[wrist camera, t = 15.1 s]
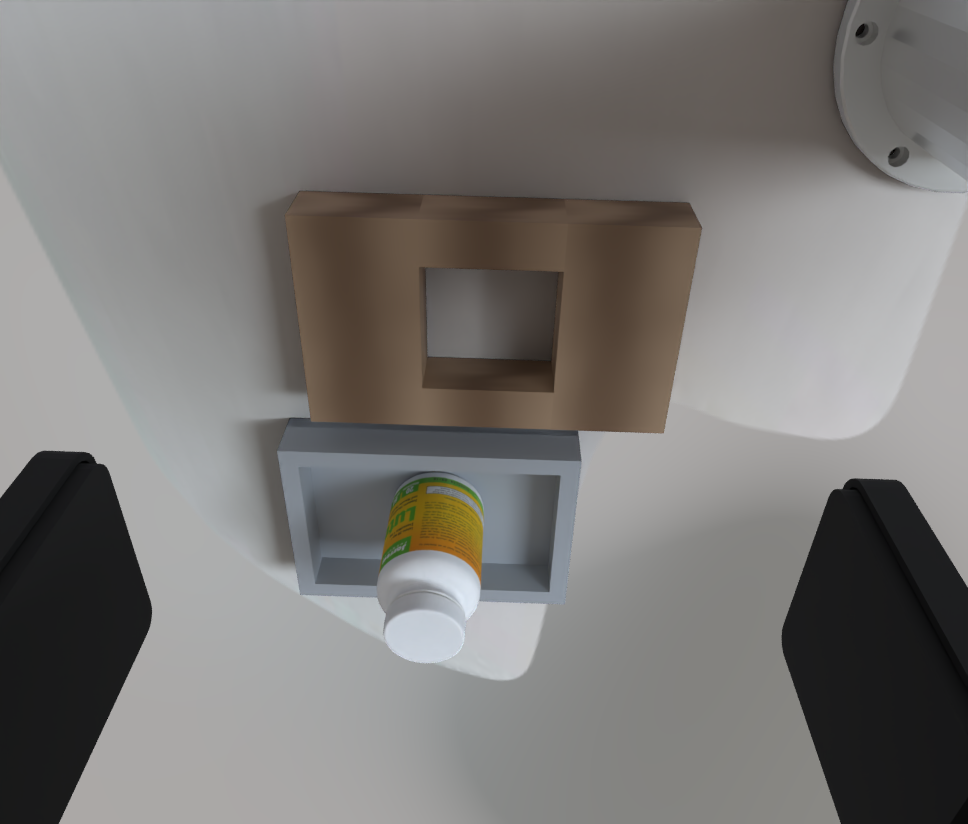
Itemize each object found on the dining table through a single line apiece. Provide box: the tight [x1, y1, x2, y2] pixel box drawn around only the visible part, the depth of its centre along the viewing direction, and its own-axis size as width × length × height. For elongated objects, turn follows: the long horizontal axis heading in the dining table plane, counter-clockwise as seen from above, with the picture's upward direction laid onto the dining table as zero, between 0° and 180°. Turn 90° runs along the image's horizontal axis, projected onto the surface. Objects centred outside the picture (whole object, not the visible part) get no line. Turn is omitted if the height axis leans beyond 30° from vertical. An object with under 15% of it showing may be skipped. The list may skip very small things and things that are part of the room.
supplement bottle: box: [377, 472, 484, 663], centre depth 43 cm, size 5×5×10 cm
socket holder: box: [285, 191, 702, 433], centre depth 39 cm, size 18×11×3 cm, turn 89°
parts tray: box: [277, 418, 581, 604], centre depth 46 cm, size 16×11×3 cm
